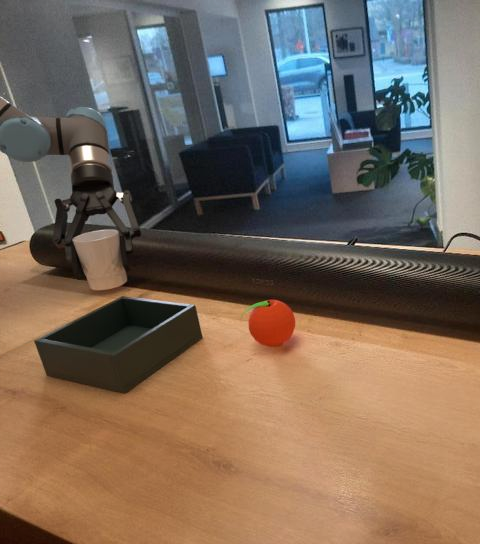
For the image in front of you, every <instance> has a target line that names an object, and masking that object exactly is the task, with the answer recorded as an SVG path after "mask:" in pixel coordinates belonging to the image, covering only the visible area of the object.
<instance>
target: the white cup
mask: <svg viewBox="0 0 480 544" xmlns="http://www.w3.org/2000/svg"><path fill="white" fill-rule="evenodd" d="M119 232H120V231H119V230H118V229H99V230H93V231H87V232H84V233H81V234H80V235H78V236H76V237H74V238H73V239H72V240H73V243H74V246H75V249H76V252H77V255H78V257H79V260H80V263H81V269H82V270H83V274H84V275H85V277H86V281H87V283H88V287H89V289H91V290H92V291H106V290H111V289H115V288H119V287H121V286H123V285H124V284H126V283H127V282H128V274H127V272H126V271H125V269H124V267H123V264H122V256H121V248H120V237H119V236H120V233H119Z"/></svg>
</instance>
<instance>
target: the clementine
mask: <svg viewBox="0 0 480 544" xmlns="http://www.w3.org/2000/svg"><path fill="white" fill-rule="evenodd" d="M249 310H251V312H250V314H249V317H248V331H249V333H250V336H252V338H253V339H254V341H256V342H257V343H258V344H259V345H262V346H266V347H269V348H270V347H271V348H273V347H278V346H281V345H283V344H285V343H286V342H287V341H289V340H290V338H291V337H292V336H293V335H294V331H295V329H296V318H295V315H294V312H293V310H292V308H291V307H290V306H288V305H287V304H286V303H284V302H283V301H280V300H277V299H267V300H264V301H260V302H256V303H253V304H252V305H250V306H249V307H248V308H246V309H245V310H244V311H243V312H242V314H241V317H240V320H239V321H240V322H241V321H242V318H243V316H244V314H245V313H246V312H247V311H249Z"/></svg>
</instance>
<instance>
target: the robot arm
mask: <svg viewBox="0 0 480 544" xmlns="http://www.w3.org/2000/svg"><path fill="white" fill-rule="evenodd" d="M109 146H110V145H109V136H108V130H107V125H106V121H105V119H104V116H103V115H102V114H101V113H100V112H99V111H97V110H95V109H94V108H91V107H86V106H78V107H76V108H71V109H69V110H68V111H67V112H66V115H65V117H46V116H45V117H44V116H30V115H28V114H26V113H25V112H24V111H22V110H21V109H20V108H18V107H17V106H15V105H13V104H12V103H11V102H9V101H8V100H7V99H5V98H3V97H2V96H1V95H0V152H1V153H2V154H5V156H7V157H9V158H10V159H13V160H15V161H17V162H22V163H34V162H37V161H40V160H41V159H43V158H45V157H46V156H68V158H69V159H68V160H69V173H70V183H71V192H72V193H71V195H70V196H69V198H66V199H61V198H55V199H54V205H55V208H56V212H55V221H54V227H53V235H52V236H53V237H52V242H53V244H54V245H55V246H56V247H57V248H58V249H60V250H61V249H64V252H65V259H66V261H67V262H68V264H71V265H72V266H71V268H72V274H73V276H74V277H75V279H76V280H77V281H81V280H82V281H83V275H82V274H83V273H82V266H81V263H80V260H79V257H78V255H77V252H76V249H75V246H74V243H73V240H72V239H73V238H74V237H76V236H78V235H81V234H82V232H83V230H84V226H85V225H86V222H88V220H89V218H90V217H93V216H96V215H107V216H108V217H109V219H110V220H111V222H113V224H114V226H115V227H116V228H117V231H118V232H120V234H121V235H119V237H120V248H121V256H122V264H123V267H124V269H125V271H126V273H129V272H131V268H130V267H131V266H130V260H129V258H130V257H129V255H133V254H134V243H133V239H135V238H139V237H141V236H142V231H141V228H140V226H139V223H138V220H137V217H136V214H135V211H134V209H133V197H132V194H131V192H130V191H129V189H125V190H123V192H117V191H116V190H115V185H114V184H115V183H114V176H113V170H112V162H111V161H112V160H111V155H110V147H109ZM118 200H119V202H120V204H122V205H123V206H124V209H125V211H126V215H127V218H128V221H129V223H130V227H131V228H130V229H129V228H128V227H127V226H126V225H125V223H124V222H123V220H122V219H121V218H120V216H119V214H118V213H117V212H116V211H115V209H114V208H113V207H114V205H115V203H116V202H117V201H118ZM71 206H74V207H75V208H76V209H75V212H74V213H75V214H74V215H73V219H72V220H71V223H70V226H69V227H68V230H67V226H68V218H69V214H68V213H69V212H70V211H71Z"/></svg>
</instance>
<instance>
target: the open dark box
mask: <svg viewBox="0 0 480 544" xmlns="http://www.w3.org/2000/svg"><path fill="white" fill-rule="evenodd" d="M203 338H204V337H203V333H202V328H201V324H200V319H199V315H198V311H197V307H196V304H191V303H182V302H173V301H165V300H158V299H149V298H143V297H142V298H141V297H133V296H126V295H122V296H120V297H117V298H115V299H114V300H112V301H109V302H108V303H106V304H103V305H101V306H100V307H97V308H95V309H94V310H92V311H90V312H88V313H86V314H83V315H81V316H80V317H77V318H76V319H74V320H72V321H70V322H68V323H66V324H64V325H62V326H60V327H57V328H56V329H54V330H52V331H50V332H48V333H45V334H44V335H41V336H40V337H38V338H36V339H34V340H33V342H34V345H35V347H36V350H37V353H38V356H39V359H40V362H41V364H42V366H43V370H44V373H45V375H46V377H51V378H56V379H60V380H65V381H67V382H73V383H77V384H82V385H86V386H91V387H94V388H100V389H103V390H108V391H112V392H117V393H120V394H127V393H128V392H130V391H131V390H132V389H134V388H135V387H137V386H138V385H139V384H140V383H143V382H144V381H145V380H146V379H148V378H149V377H150V376H152V375H153V374H154V373H156V372H157V371H159V370H160V369H162V368H163V367H164V366H166V365H167V364H168V363H170V362H171V361H172V360H174V359H175V358H177V357H178V356H180V355H181V354H183V353H184V352H185V351H186V350H188V349H189V348H191V347H192V346H193V345H195V344H196V343H198V342H200V341H201V340H202V339H203Z"/></svg>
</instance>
